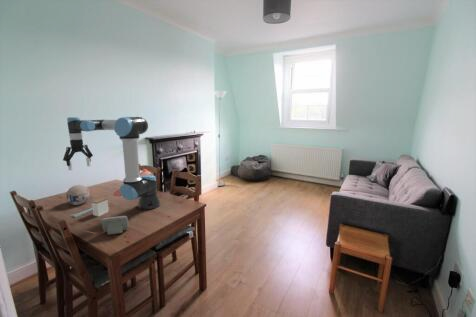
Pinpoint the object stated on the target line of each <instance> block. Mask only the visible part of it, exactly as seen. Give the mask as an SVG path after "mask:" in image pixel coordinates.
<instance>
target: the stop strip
mask: <svg viewBox="0 0 476 317" xmlns="http://www.w3.org/2000/svg"><path fill="white" fill-rule="evenodd" d="M91 211H93V210H92V207H90V208H88V209H86V210H83V211H81V212H78V213H75V214H76V215H73V216H74V217H73V216H72V217H73V218H77V217H79V216H82V215H84V214H86V213H89V212H91Z"/></svg>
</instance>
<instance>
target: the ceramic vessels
mask: <svg viewBox="0 0 476 317" xmlns="http://www.w3.org/2000/svg"><path fill="white" fill-rule="evenodd" d="M139 174H140V175H152V172H151V171H149V170H148V169H147V168H144V169H143V170H142V171H140V172H139ZM122 185H123V183H121V186H122ZM113 196H116V197H123V196H122V195H121V193H120V188H119V189H118V190H116V191H115V192H113Z"/></svg>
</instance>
